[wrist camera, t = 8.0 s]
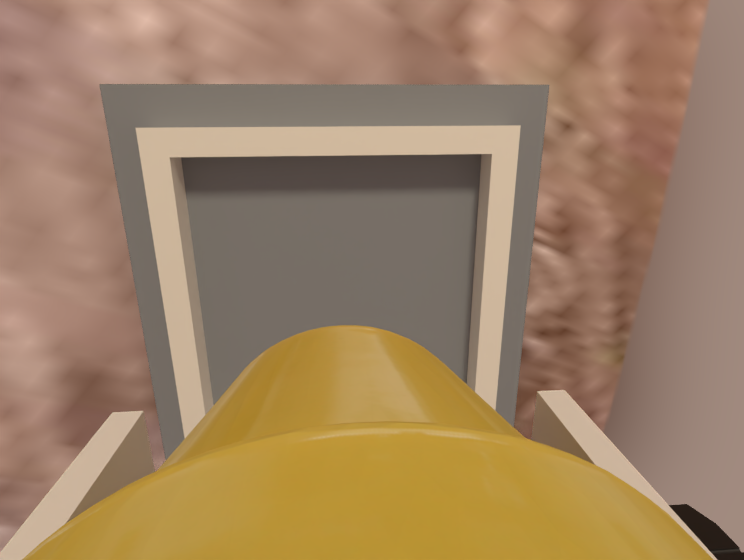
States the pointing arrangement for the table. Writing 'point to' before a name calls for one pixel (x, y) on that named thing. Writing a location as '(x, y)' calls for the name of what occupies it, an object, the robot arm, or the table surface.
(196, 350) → the board
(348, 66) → the table surface
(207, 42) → the table surface
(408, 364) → the plant pot
